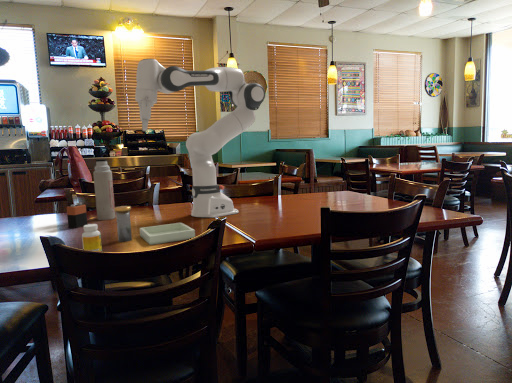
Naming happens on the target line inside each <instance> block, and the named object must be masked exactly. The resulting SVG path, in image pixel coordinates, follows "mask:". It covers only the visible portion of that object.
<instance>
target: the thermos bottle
mask: <svg viewBox="0 0 512 383" xmlns="http://www.w3.org/2000/svg"><path fill="white" fill-rule="evenodd" d="M95 162H96V164H95V166H94V171H93V173H92V174H93V185H94V196H95V207H96V208H95V209H96V218H97V220H98V221H107V220H108V221H109V220H113V219H115V218H116V211H114V208H115V207H116V205H115V195H114V187H113V186H114V184H113V181H114V180H113V171H112V170H110V169H111V167H110V165H108V164H109V163H108V159H105V158H101V159H100V158H99V159H95Z"/></svg>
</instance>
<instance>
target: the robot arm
mask: <svg viewBox="0 0 512 383" xmlns="http://www.w3.org/2000/svg"><path fill="white" fill-rule="evenodd" d="M135 79H136V87H135V96H134V97H135V98H134V101H135V102H137V105H138V109H139V119H140V120H139V121H140V122H141V125H142V126H141V129H142V130H141V132H147V131H148V125H149V122H150V120H151V117H152V115H151V114H152V108H154V105H155V104H157V103H158V92H160V93H162V94H167V95H169V94H172V93H175V92H180V91H182V90H184V89H186V88H187V87H201V86H202V87H205V88H206V89H207V90H208V91H209V92H217V93H218V92H219V93H220V92H221V93H223V92H228V95H229V99H230V102H231V104H232V105H233V106H234V107H236V108H235V109H234V110H232V111H231V112H229V113H227V114H225V115H224V116H223V117H221V118H219V119H217V120H216V121H215V122H214V123H212V125H210V126H209V127H208V128H206V129H204V130H202V131H199V132H193V133H191V134H190V135H189V136H188V137H187V139H186V141H185V147H186V149H187V151H188V156H189V160H190V166H191V171H192V189H191V193H192V194H191V195H192V197H193V198H192V199H193V201H192V210H191V214H190V215H191V216H192V217H196V218H217V217H219V218H220V217H223V216H230V215H235V214H238V213H239V210H238V209H237V208H235V207H234V202H233V200H232V199H231V198H230V197H228V196H227V195H226V194H224V193H223V192H221V190H222V191H223V190H224V189H225V186H224V185H219V184H217V168H216V165H215V163H214V160H213V155H215V154H217V153H218V152H219V151H220V150H221V149H222V148H223V147H224V146H225V145H226V144H227V143H229V142H230V141H232V140H233V139H234V138H236V137H237V136H239V135H240V134H242V133H244V132H245V131H246V130H248V129H249V128H250V127H252V125H253V124H254V123H255V122H256V114H255V111H257V110H259V108H260V106H261V105H262V104H263V102H264V101H265V98H266V90H265V88H264V87H263V86H262V85H261V84H259V83H258V82H257V83H256V82H250V83H247V82H246V80H245V74H244V72H243V71H242V70H241V69H240V68H237V67H232V66H231V67H230V66H229V67H228V66H215V67H210V68H208V69H205V70H187V69H184V68H182V67H179V66H176V65H170V66H167V67H164V66H163V65H162V64H160V62H158V60H157V59H155V58H143V59H141V60H140V61H139V62H138V63H137V67H136V78H135Z"/></svg>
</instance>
